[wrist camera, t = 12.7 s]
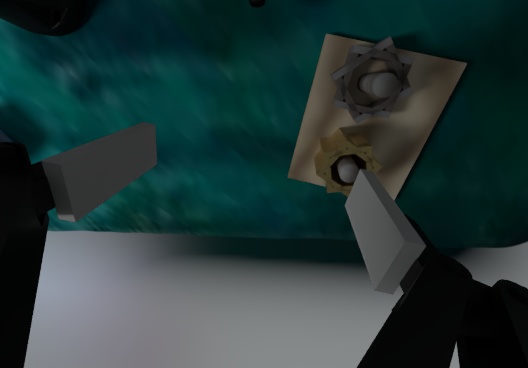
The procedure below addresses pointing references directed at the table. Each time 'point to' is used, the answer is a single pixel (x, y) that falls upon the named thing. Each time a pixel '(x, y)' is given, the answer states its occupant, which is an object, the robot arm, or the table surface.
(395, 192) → the gear board
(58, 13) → the robot arm
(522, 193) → the table surface
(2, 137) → the ink box
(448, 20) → the table surface
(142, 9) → the table surface
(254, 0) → the mug
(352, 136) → the brass gear
